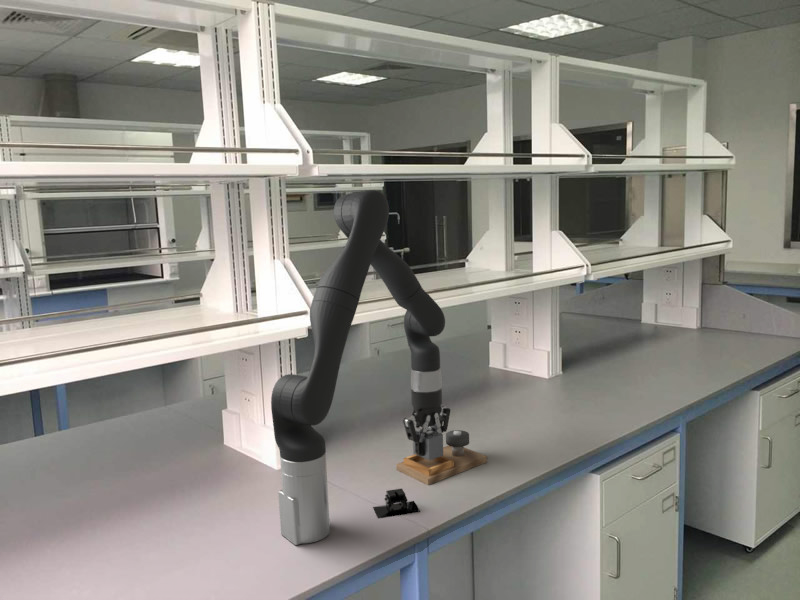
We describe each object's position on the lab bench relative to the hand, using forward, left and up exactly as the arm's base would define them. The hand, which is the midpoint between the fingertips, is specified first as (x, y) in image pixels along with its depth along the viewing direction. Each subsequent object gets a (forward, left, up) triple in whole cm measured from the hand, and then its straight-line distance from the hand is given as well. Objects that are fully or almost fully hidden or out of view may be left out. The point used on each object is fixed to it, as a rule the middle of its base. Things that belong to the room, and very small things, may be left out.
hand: (428, 452), depth 164 cm
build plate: (-19, -11, -6) cm, 22 cm away
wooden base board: (+4, 0, -5) cm, 7 cm away
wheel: (+10, 0, 0) cm, 10 cm away
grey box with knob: (0, 0, -1) cm, 1 cm away
